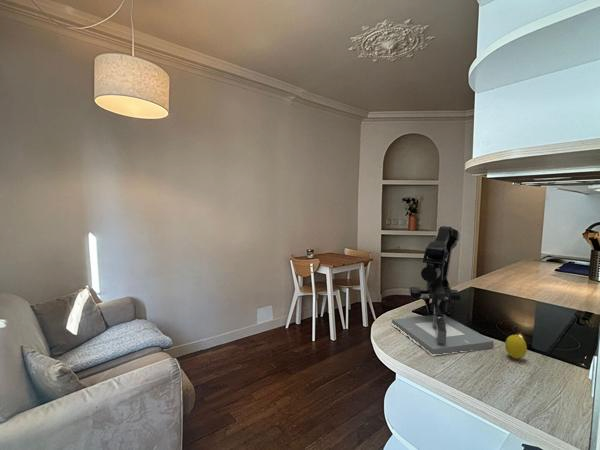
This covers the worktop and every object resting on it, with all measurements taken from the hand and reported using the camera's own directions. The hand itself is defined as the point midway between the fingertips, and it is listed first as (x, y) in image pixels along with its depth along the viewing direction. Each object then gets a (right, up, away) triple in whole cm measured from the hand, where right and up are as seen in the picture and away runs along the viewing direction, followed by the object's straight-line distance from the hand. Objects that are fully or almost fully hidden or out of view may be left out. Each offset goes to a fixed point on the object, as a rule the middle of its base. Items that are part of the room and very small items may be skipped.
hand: (433, 314), depth 121 cm
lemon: (+14, -7, -26) cm, 31 cm away
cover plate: (-3, -5, -11) cm, 12 cm away
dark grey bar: (-3, -1, -11) cm, 12 cm away
